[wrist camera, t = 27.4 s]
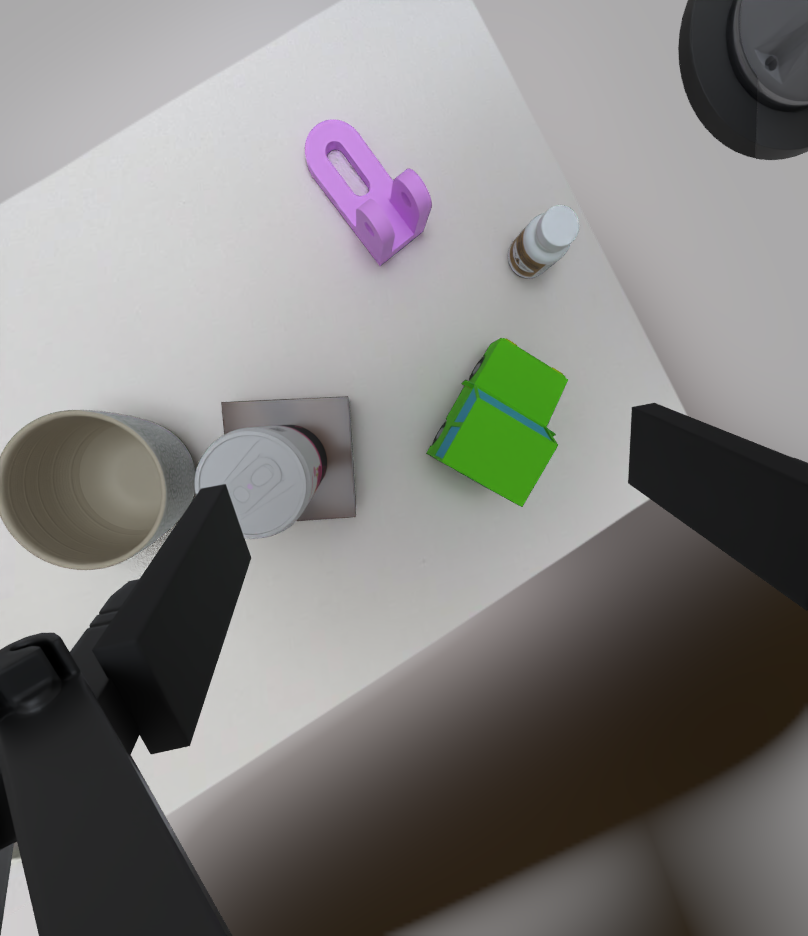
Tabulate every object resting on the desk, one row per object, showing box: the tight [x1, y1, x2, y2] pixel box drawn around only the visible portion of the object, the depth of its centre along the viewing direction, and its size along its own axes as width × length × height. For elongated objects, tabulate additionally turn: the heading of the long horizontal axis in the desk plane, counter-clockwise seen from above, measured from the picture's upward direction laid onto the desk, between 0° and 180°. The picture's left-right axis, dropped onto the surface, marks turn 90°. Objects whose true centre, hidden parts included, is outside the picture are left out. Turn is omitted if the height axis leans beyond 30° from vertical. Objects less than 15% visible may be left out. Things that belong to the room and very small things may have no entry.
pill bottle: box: [508, 205, 579, 278], centre depth 43 cm, size 4×4×8 cm
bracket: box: [305, 120, 432, 266], centre depth 41 cm, size 13×6×7 cm, turn 39°
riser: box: [221, 396, 356, 521], centre depth 44 cm, size 11×11×6 cm
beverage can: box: [195, 425, 327, 539], centre depth 33 cm, size 7×7×15 cm
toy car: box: [426, 338, 568, 507], centre depth 43 cm, size 10×13×10 cm
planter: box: [0, 410, 196, 570], centre depth 40 cm, size 12×12×11 cm
